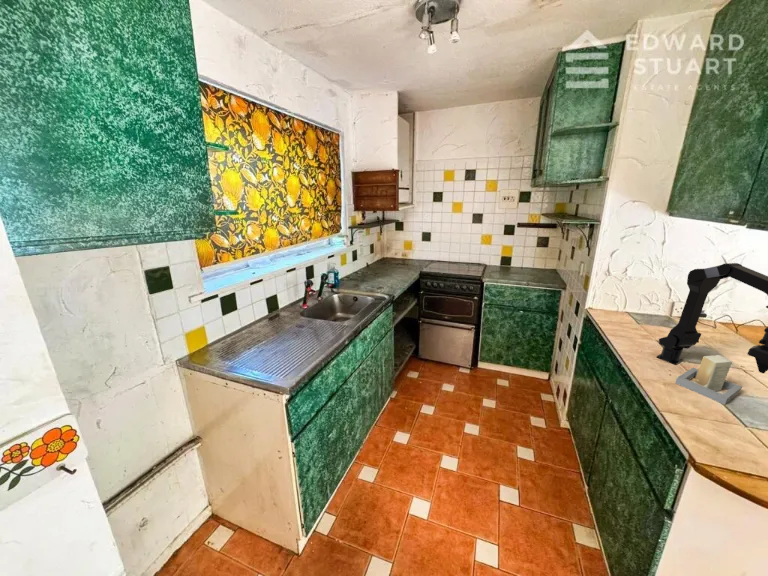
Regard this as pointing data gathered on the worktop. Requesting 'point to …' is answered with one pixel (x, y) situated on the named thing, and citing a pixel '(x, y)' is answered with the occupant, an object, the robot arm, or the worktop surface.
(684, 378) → the holder
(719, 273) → the robot arm
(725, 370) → the skincare box
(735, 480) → the worktop surface
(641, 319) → the worktop surface
